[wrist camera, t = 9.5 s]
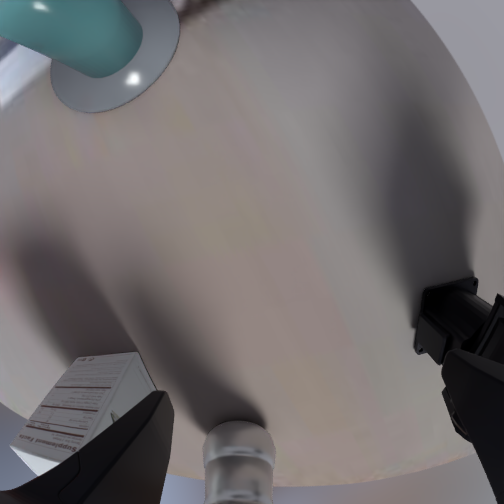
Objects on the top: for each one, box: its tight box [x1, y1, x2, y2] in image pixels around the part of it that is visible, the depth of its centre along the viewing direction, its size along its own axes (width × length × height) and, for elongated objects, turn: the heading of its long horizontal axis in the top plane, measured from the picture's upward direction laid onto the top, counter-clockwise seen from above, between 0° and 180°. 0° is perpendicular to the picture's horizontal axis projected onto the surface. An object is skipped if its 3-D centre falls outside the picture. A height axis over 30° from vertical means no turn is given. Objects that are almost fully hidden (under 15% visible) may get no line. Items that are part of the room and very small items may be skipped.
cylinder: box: [0, 0, 143, 78], centre depth 10 cm, size 6×6×11 cm
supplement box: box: [10, 352, 156, 476], centre depth 17 cm, size 7×7×13 cm
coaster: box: [51, 0, 180, 113], centre depth 15 cm, size 11×11×1 cm
